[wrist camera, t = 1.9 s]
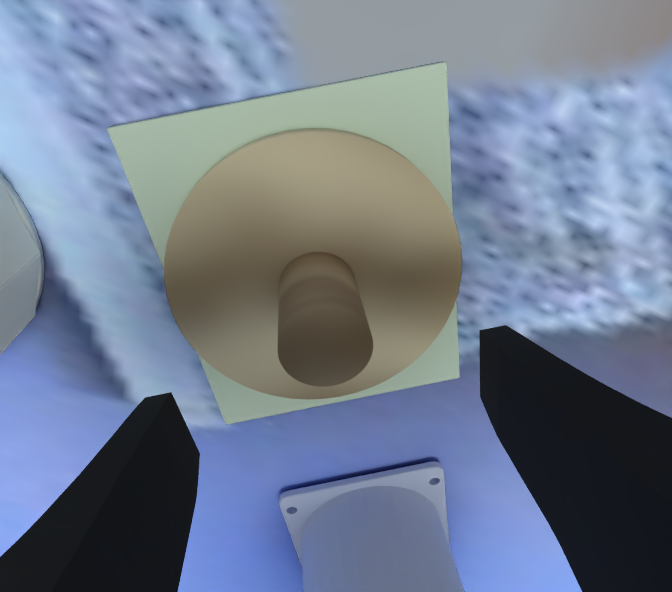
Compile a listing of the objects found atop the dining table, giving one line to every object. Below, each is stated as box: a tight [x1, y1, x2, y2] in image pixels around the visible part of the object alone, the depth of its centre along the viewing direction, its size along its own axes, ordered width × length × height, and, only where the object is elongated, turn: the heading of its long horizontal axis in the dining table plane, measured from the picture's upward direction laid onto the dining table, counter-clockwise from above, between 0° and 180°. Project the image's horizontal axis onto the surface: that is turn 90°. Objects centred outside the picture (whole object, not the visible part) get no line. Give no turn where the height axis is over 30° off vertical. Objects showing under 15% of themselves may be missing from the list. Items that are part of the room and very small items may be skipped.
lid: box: [164, 128, 462, 400], centre depth 14 cm, size 10×10×4 cm
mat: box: [107, 61, 460, 425], centre depth 16 cm, size 12×10×1 cm
